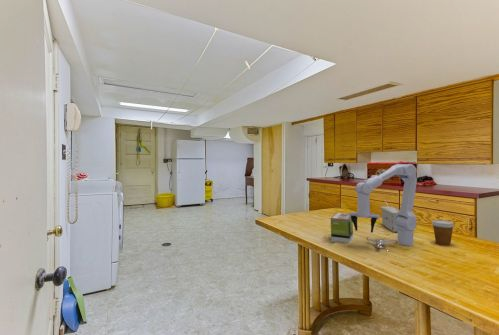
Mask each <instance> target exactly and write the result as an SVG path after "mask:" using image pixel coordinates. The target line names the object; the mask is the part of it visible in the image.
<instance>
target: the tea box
mask: <svg viewBox="0 0 499 335" xmlns="http://www.w3.org/2000/svg"><path fill="white" fill-rule="evenodd" d="M353 227H354V224H353V222H352V220H351V217H350V216H349V213H344V212H343V213H342V212H335V213H334V214H333V215H332V216H331V217H330V233H331V234H330V240H331V241H330V242H331V243H332V244H335V243H336V242H337V243H346V244H350V242H352V240H353V237H354V228H353Z"/></svg>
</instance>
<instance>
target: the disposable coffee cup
mask: <svg viewBox="0 0 499 335" xmlns="http://www.w3.org/2000/svg"><path fill="white" fill-rule="evenodd" d="M431 224H432V228H433V233H434V239H435V243H436V244H437V245H440V246H451V242H452V237H453V230H454V227H455V225H454V222H453V221H450V220H443V219H434V220H432V223H431Z"/></svg>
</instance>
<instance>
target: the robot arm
mask: <svg viewBox="0 0 499 335" xmlns="http://www.w3.org/2000/svg"><path fill="white" fill-rule="evenodd" d="M417 172H418V170H417V168H416V166H415V165H414V164H412V163H407V164H406V163H405V164H403V163H396V164H394V165H392V166H391V167H390V168H388V169H386V170H384V171H383V172H382V173H381V174H379V175H377V174H375V175H370V178H367V179H364V180H363V182H358V183H357V184H356V186H355V187H354V190H355V192H356V195H357V212H356V211H355V212H354V211H353V212H352V211H350V212H348V214H349V216H350V217H351V220H352V222H353V227H354V230H355V231H356V232H357V231H358V218H364V219H365V218H366V219H370V233H371V234H372V233H373V232H374V228H375V224H376V222H377V220H380V217H381V216H380V214H377V213H371V210H370V209H371V206H370V205H371V204H370V203H371V202H370V201H371V200H370V194H371V193H372V191H373V190H375V189H376V188H378V187H380V186H382V184H383V182H384V181H386V180H388V179H389V178H392V177H394V176H397V177H398V178H400V179H401V180H402V181H403V183H404V184H403V191H402V197H401V205H400V209H399V210H400V211H399V212H397V215H396V217H395V219H394V223H395V225H396V226H397V228H398V232H397V244H399V245H401V246H402V245H403V246H408V247H410V246H411V247H412V246H414V231H415V230H416V228H417V226H418V223H417V216H416V215H415V213H414V212H413V211H414V205H415V204H414V202H415V198H416V189H417V183H418V178H417ZM404 216H406V217H404Z"/></svg>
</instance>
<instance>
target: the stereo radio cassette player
mask: <svg viewBox="0 0 499 335" xmlns="http://www.w3.org/2000/svg"><path fill="white" fill-rule="evenodd" d="M384 202H385V204H386V205H387V206H380V209H381V224H382V226H384V227H385V228H387V229H389V230H390V231H391V232H393V233H398V228H397V226H396V225H395V223H394V219H395V217H396V215H397V212H399V211H400V210H401V209H398V208H395V207H393V206H389V204H388V203H387V201H386V200H384ZM404 217H406V216H404Z"/></svg>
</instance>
